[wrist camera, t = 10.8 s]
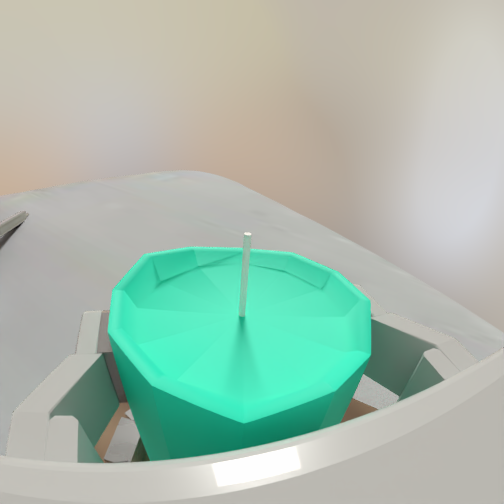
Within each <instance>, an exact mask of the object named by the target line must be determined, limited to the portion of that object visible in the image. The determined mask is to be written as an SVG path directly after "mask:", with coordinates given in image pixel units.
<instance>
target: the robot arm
mask: <svg viewBox="0 0 504 504" xmlns="http://www.w3.org/2000/svg"><path fill="white" fill-rule="evenodd" d="M354 286H355V287H356V288H357V289H358V290H359V291H361V292H362V293H363V294H364V295H365V296H366V297H367V298H368V299H369V300H371V356H370V359H369V361H368V363H367V366H366V368H365V371H364V373H363V374H365V375H366V376H368V377H369V378H371V379H372V380H374V381H376V382H377V383H379V384H380V385H382V386H384V387H385V388H387V389H389V390H390V391H392V392H393V393H395V394H397V395H398V396H400V397H399V399H398V400H397V402H396V403H394V404H391V405H389V406H386V407H384V408H381V409H379V410H376V411H374V412H371V413H368V414H366V415H363V416H360V417H357V418H355V419H352V420H349V421H346V422H343V423H340V424H337V425H334V426H331V427H327V428H324V429H321V430H318V431H314V432H311V433H307V434H304V435H300V436H296V437H293V438H289V439H285V440H281V441H277V442H273V443H268V444H264V445H259V446H255V447H250V448H245V449H240V450H234V451H229V452H223V453H217V454H210V455H204V456H196V457H188V458H180V459H170V460H159V461H146V462H126V463H104V462H103V461H102V459H101V458H100V456H99V455H98V453H97V451H96V450H95V448H94V447H95V445H96V444H97V442H98V440H99V439H100V437H101V435H102V434H103V432H104V430H105V429H106V427H107V425H108V424H109V422H110V420H111V419H112V417H113V415H114V414H115V412H116V410H117V409H118V407H119V405H120V404H119V403H126V402H128V401H127V398H126V395H125V391H124V388H123V385H122V382H121V379H120V375H119V372H118V369H117V365H116V362H115V358H114V354H113V351H112V347H111V343H110V339H109V336H108V323H109V314H110V310H103V311H85V312H84V313H83V315H82V319H81V324H80V330H79V335H78V340H77V346H76V352H75V354H70V355H69V356H68V357H67V358H66V359H65V360H64V361H63V362H62V363H61V364H60V365H59V366H58V367H56V368H55V369H54V370H53V371H52V372H51V373H50V374H49V375H48V376H47V377H46V378H45V379H44V380H43V381H42V382H41V383H40V384H39V385H38V386H37V387H36V388H35V389H34V391H33V392H32V393H31V394H30V395H29V396H28V397H27V398H26V399H25V400H24V401H23V402H22V403H21V404H20V405H19V406H18V407H17V408H16V409H15V410H14V411H13V415H12V419H11V425H10V430H9V435H8V441H7V448H6V454H5V456H2V455H0V504H504V347H503V348H501V349H500V350H498V351H497V352H495V353H493V354H492V355H490V356H488V357H487V358H485V359H483V360H481V361H480V362H478V361H477V360H476V358H475V357H474V356H473V355H472V354H471V353H470V352H469V351H468V350H467V349H466V348H465V347H464V346H463V345H462V344H461V343H460V342H459V341H458V340H457V339H456V338H453V337H451V336H448V335H446V334H443V333H441V332H438V331H436V330H433V329H431V328H428V327H426V326H424V325H421V324H419V323H416V322H414V321H411V320H409V319H406V318H404V317H401V316H399V315H396V314H394V313H387V312H386V311H385V310H384V309H383V308H382V307H381V306H380V305H379V304H378V303H377V302H376V301H375V300H374V299H373V298H372V297H371V296H370V295H369V294H368V293H367V292H366V291H365V290H364V289H363V288H362V287H361V286H360V285H357V284H354Z"/></svg>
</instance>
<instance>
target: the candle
mask: <svg viewBox="0 0 504 504" xmlns="http://www.w3.org/2000/svg"><path fill="white" fill-rule="evenodd" d="M250 247H251V233H248V232H247V233H244V243H243V248H225V247H185V248H179V249H172V250H166V251H160V252H154V253H147V254H144V255H143V256H142V257H141V258H140V259H139V260H138V261H137V263H136V264H135V265H134V266H133V267H132V268H131V269H130V270H129V271H128V273H127V274H126V275H125V276H124V277H123V278H122V279H121V281H120V282H119V283H118V284H117V285H116V286H115V287H114V289H113V290H112V298H111V306H110V314H109V323H108V336H109V339H110V343H111V347H112V351H113V354H114V358H115V362H116V365H117V369H118V372H119V375H120V379H121V382H122V385H123V388H124V391H125V395H126V398H127V401H128V404H129V407H130V409H131V412H132V415H133V418H134V421H135V424H136V426H137V429H138V432H139V434H140V437H141V440H142V442H143V445H144V447H145V450H146V452H147V455H148V457H149V459H150V461H159V460H170V459H180V458H188V457H196V456H204V455H210V454H217V453H223V452H229V451H234V450H240V449H245V448H250V447H255V446H259V445H264V444H268V443H273V442H277V441H281V440H285V439H289V438H293V437H296V436H300V435H304V434H307V433H311V432H314V431H318V430H321V429H324V428H327V427H331V426H334V425H337V424H340V422H341V420H342V418H343V416H344V414H345V412H346V410H347V408H348V406H349V404H350V402H351V399H352V397H353V395H354V393H355V391H356V389H357V386H358V384H359V382H360V380H361V377H362V375H363V373H364V371H365V368H366V366H367V363H368V361H369V359H370V356H371V300H369V299H368V298H367V297H366V296H365V295H364V294H363V293H362V292H361V291H359V290H358V289H357V288H356V287H355V286H354V285H353V284H352V283H351V282H349V281H348V280H347V279H346V278H345V277H344V276H343V275H341V274H340V273H339V272H338V271H335V270H333V269H331V268H328V267H326V266H324V265H321V264H319V263H317V262H314V261H312V260H310V259H307V258H305V257H302V256H300V255H298V254H295V253H292V252H281V251H270V250H259V249H250Z"/></svg>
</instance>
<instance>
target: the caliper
mask: <svg viewBox="0 0 504 504" xmlns="http://www.w3.org/2000/svg"><path fill="white" fill-rule="evenodd" d="M28 215H29V214H28V213H26V211H20V212H18V213H16V214H14V215H12V216H10V217H9V218H7V219H5V220H3V221H1V222H0V237H2V236H3V235H5V234H6V233H7V232H9V231H10V230H12V229H13V228H15V227H17V226H18V225H20V224H21V223H23V222H24V221H25V219H26V217H27V216H28Z"/></svg>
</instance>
